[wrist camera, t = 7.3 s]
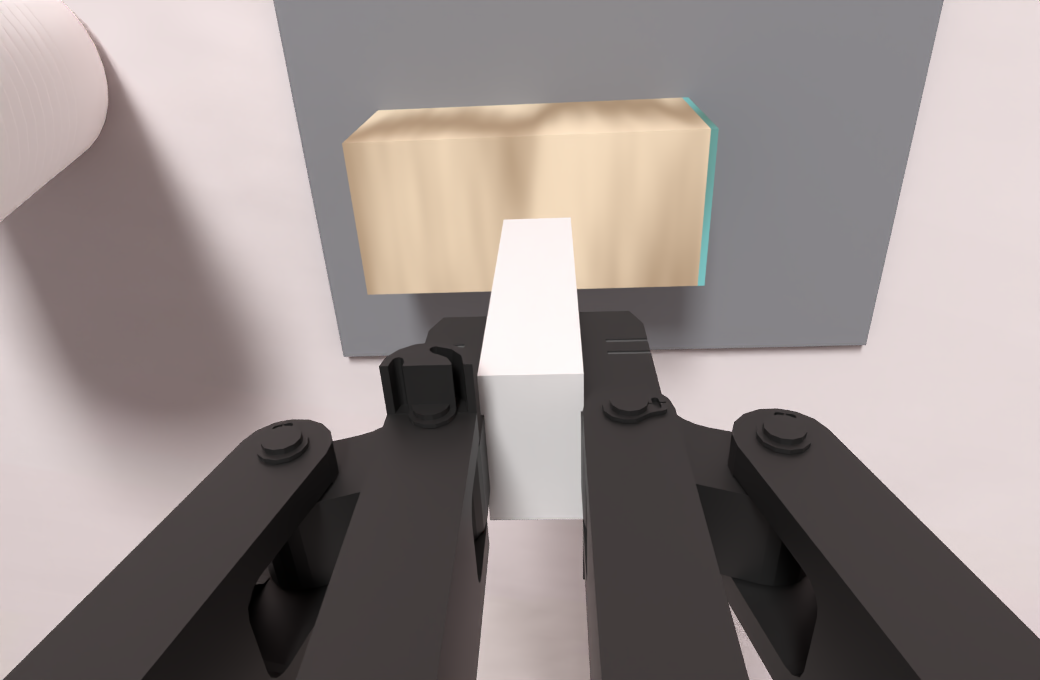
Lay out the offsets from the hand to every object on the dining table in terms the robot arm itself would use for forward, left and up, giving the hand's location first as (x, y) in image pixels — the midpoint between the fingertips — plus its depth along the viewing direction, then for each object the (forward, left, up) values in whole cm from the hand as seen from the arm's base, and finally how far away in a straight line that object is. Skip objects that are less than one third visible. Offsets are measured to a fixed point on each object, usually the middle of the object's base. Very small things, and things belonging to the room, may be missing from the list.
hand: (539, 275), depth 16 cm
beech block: (+5, 0, -6) cm, 8 cm away
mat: (+2, +2, -9) cm, 9 cm away
